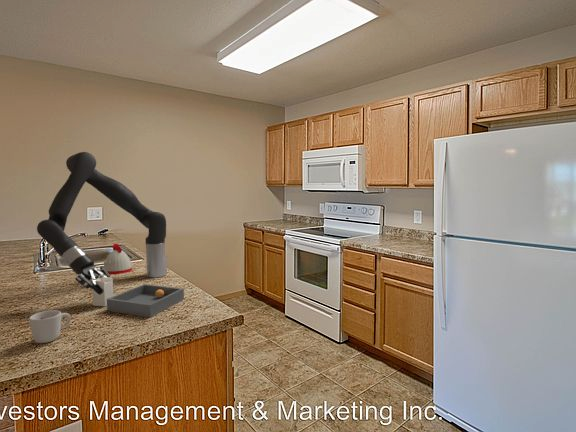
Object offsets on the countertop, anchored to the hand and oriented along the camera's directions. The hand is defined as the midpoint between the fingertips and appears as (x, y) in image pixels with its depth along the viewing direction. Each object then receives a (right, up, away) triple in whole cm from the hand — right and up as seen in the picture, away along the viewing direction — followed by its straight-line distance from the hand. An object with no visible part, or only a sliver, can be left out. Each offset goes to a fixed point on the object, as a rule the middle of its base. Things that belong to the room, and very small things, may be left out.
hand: (106, 290), depth 134 cm
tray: (+16, -6, 0) cm, 17 cm away
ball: (+19, -3, +5) cm, 20 cm away
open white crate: (-2, -5, +1) cm, 6 cm away
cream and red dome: (-21, -1, +51) cm, 55 cm away
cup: (-2, -9, -28) cm, 30 cm away
